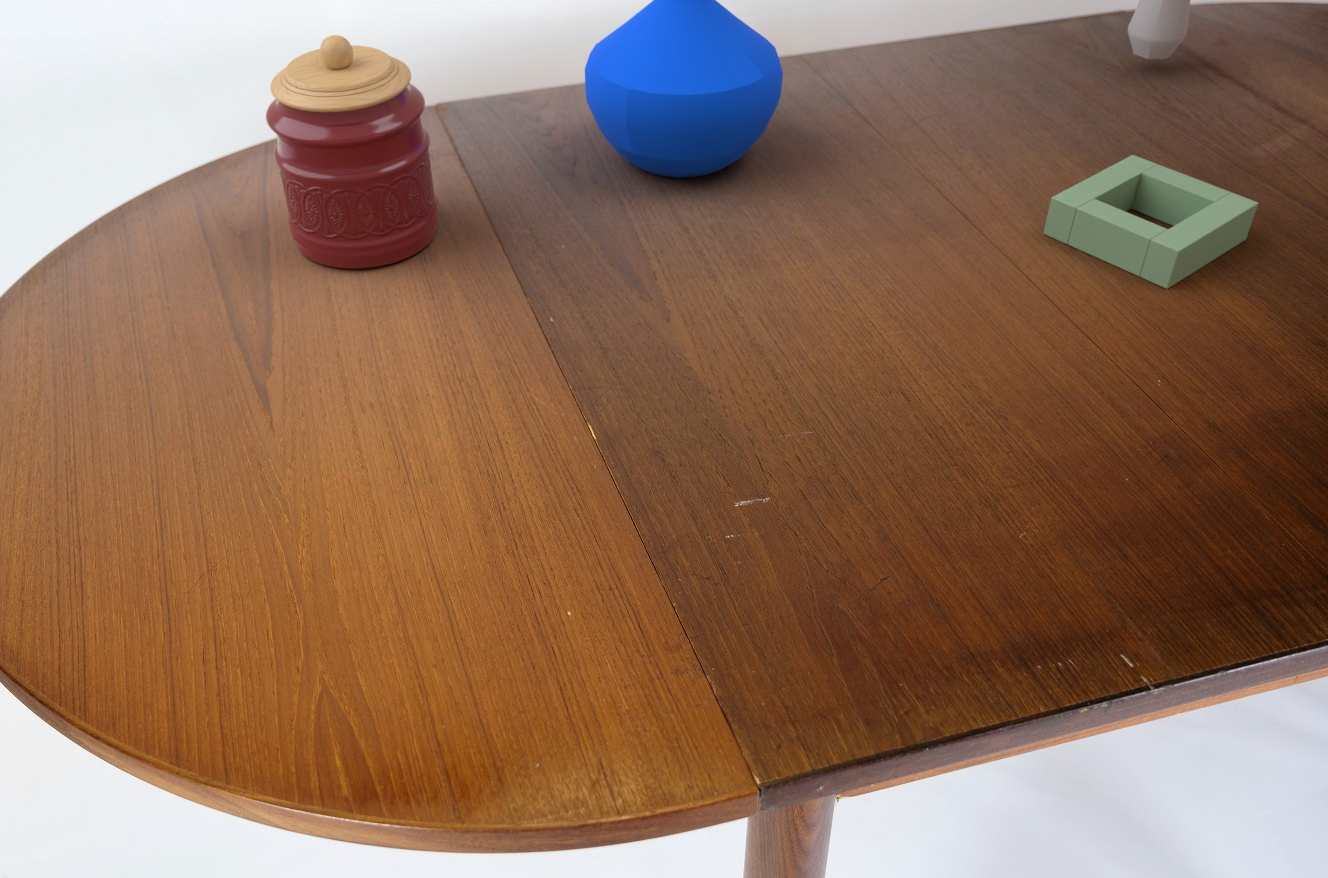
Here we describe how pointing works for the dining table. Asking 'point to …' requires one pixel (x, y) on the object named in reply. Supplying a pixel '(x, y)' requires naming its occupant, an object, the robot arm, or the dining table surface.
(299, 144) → the kitchen canister
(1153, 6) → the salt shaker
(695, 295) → the dining table surface
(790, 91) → the dining table surface
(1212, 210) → the pad socket
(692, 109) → the vase
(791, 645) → the dining table surface
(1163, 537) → the dining table surface
